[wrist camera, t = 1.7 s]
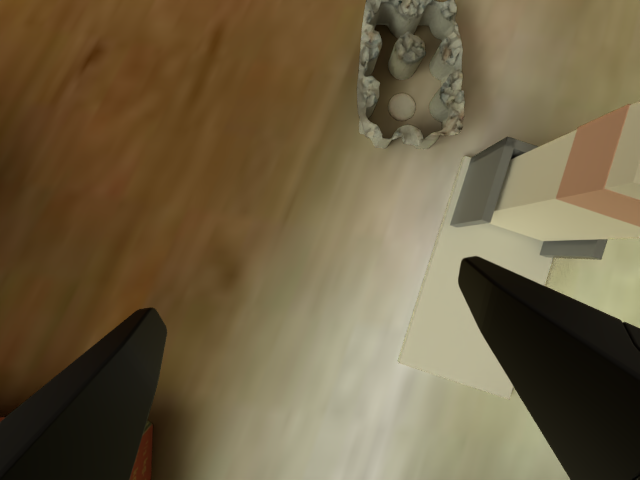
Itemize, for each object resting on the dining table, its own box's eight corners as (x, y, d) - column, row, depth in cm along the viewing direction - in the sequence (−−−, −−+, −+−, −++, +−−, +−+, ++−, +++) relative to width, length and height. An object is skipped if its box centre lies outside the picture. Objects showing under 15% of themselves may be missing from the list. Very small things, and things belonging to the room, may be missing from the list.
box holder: (506, 397, 23) (556, 436, 19) (397, 361, 23) (418, 390, 19) (569, 192, 24) (634, 178, 19) (462, 157, 24) (500, 134, 19)
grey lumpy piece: (441, 156, 24) (466, 138, 20) (349, 148, 24) (355, 129, 20) (450, 27, 25) (477, -17, 20) (359, 19, 24) (367, -26, 20)
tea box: (542, 241, 23) (788, 235, 11) (467, 216, 23) (631, 183, 11) (556, 196, 23) (814, 141, 11) (481, 171, 23) (659, 89, 11)
